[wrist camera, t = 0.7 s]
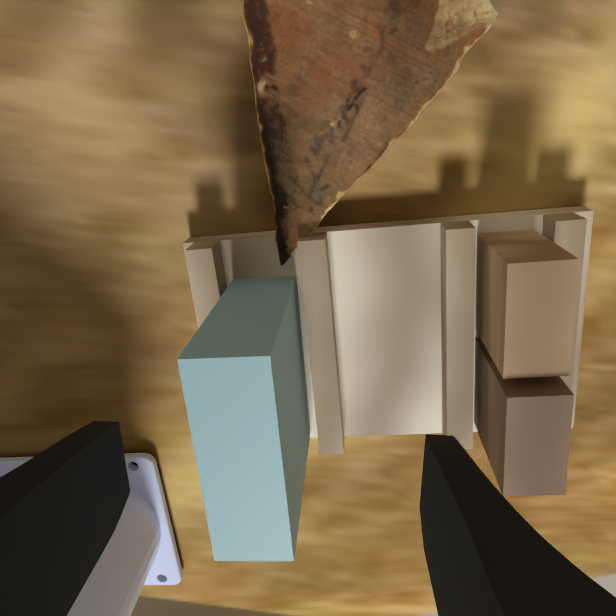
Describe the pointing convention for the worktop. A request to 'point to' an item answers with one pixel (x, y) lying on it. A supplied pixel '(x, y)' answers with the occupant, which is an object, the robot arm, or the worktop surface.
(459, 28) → the shard
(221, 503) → the teal panel
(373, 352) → the birch rack
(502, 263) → the oak offcut
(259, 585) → the worktop surface
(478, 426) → the walnut offcut
